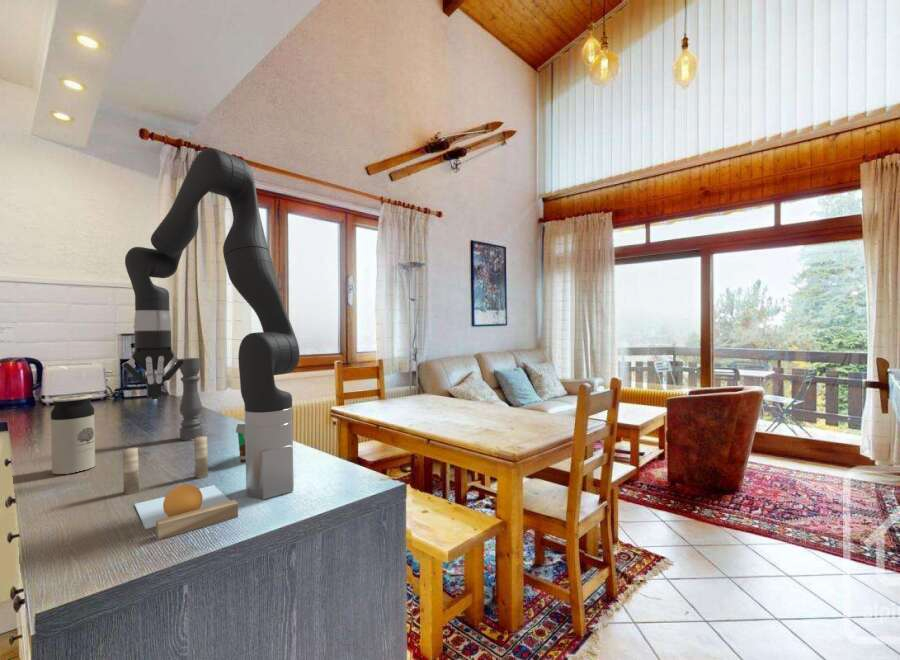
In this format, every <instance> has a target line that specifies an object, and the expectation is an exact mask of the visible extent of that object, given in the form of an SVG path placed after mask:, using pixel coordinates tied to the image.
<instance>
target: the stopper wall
mask: <svg viewBox="0 0 900 660" xmlns="http://www.w3.org/2000/svg"><path fill="white" fill-rule="evenodd" d="M238 504H239V503H238V502H237V501H236V500H235V499H232V500H230V501H228V502H224V503H221V504H217V505H213V506H209V507H206V508H202V509H198V510H194V511H190V512H187V513H183V514H179V515H175V516H172V517H168V518H164V519H160V520H157V521H156V527H155V530H156V531H155V532H156V538H157V539H158V540H159V541H160V540H163V539H166V538H170V537H174V536H177V535H181V534H183V533H187V532H191V531H194V530H197V529H198V530H199V529H201V528H204V527H209V526H211V525H214V524H217V523H222V522H224V521H229V520H232V519H235V518H239V505H238ZM190 530H191V531H190Z"/></svg>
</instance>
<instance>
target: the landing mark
mask: <svg viewBox="0 0 900 660" xmlns="http://www.w3.org/2000/svg"><path fill="white" fill-rule="evenodd" d="M198 489H199V490H200V491H201V493H202V504H201V507H200V508H199V509H202V508H206V507H209V506H213V505H217V504H221V503H224V502H228V501H231V500H230V499H229V498H228V497H227V496H226V495H225V494H224V493H223V492H222V491H221V490H220V489H219V488H218V487H217V486H216V485H215V484H213V485H209V486H205V487H201V488H198ZM165 497H166V496H163V497H159V498H155V499H154V498H153V499H150V500H146V501H142V502H136V503H134V507H135V509H136V512H137V513H138V516H139V518H140V521H141V522H142V525H143V527H144V530H149V529H152V528H156V521H157V520H160V519H164V518H168V516H167V515H166V513H165V512H164V509H163V503H164V499H165Z"/></svg>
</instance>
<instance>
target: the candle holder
mask: <svg viewBox="0 0 900 660" xmlns="http://www.w3.org/2000/svg"><path fill="white" fill-rule="evenodd" d="M178 359H179V360H182V361H183V364H182V365H181V367H180V368H179V370H180V373H181V374H182V377H180V381H181V382H182V384H183V392H182V393H183V394H182V396H181V401H180V405H179V412H180V415H182V418H183V420H182V421H181V422H180V426H181V427H180V428H179V440H180V439H181V440H180V441H182V440H190V441H192V440H191V439H194V438H196V437H200V436H204V433H203V431H204V430H203V427H204V426H203V425H202V420H201V419H200V418H199V417H200V414H201V413H202V410H203V405H202V401H201V398H200V395H199V390H198V382H199V381H200V380H201V378H200V376H198V374H199V372H200V369H201V358H200V357H189V358H178Z"/></svg>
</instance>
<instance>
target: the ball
mask: <svg viewBox="0 0 900 660" xmlns="http://www.w3.org/2000/svg"><path fill="white" fill-rule="evenodd" d="M199 489H200V488H198V487H197V486H195V485H193V484H189V483H187V484H186V483H183V484H180V485H177V486H175V487H174V488H172V489H170V490H169V492H168V493H167V494H166V495H165V496H164V497H165V499H164V503H163V509H164V512H165V513H166V515H167V516H168V517H172V516H175V515H179V514H183V513H187V512H190V511H194V510H198V509H199V508H200V507H201V504H202V493H201V491H200V490H199Z"/></svg>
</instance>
